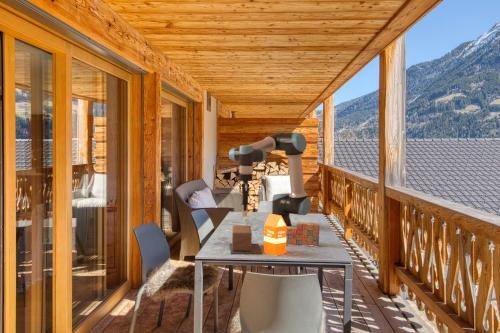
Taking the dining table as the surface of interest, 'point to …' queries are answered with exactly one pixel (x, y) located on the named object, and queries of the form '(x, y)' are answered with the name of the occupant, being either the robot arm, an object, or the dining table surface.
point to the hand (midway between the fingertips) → (244, 216)
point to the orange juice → (275, 235)
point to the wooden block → (241, 238)
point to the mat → (254, 250)
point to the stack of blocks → (303, 234)
